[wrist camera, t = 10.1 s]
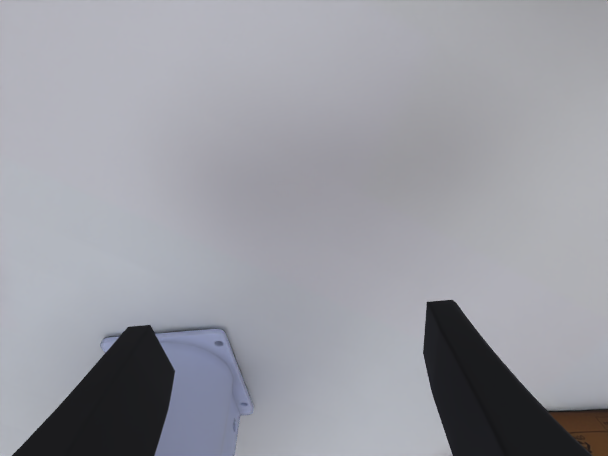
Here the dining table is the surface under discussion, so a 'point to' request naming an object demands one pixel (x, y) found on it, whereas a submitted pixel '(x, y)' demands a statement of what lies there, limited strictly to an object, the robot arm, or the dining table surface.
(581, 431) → the pancake mix bag
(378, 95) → the dining table surface
